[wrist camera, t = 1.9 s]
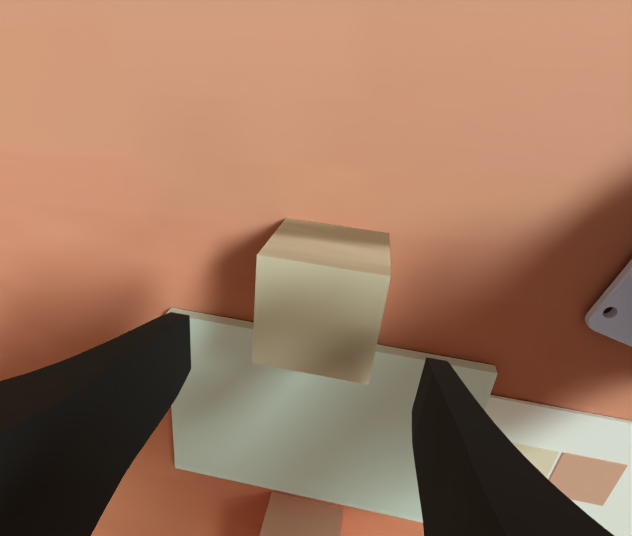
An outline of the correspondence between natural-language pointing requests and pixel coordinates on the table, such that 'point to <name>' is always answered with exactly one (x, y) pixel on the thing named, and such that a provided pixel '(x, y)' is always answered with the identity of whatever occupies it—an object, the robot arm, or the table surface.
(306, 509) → the pinkish tan cube
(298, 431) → the plate
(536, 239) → the table surface
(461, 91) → the table surface
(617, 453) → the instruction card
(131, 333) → the robot arm
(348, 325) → the beech block
